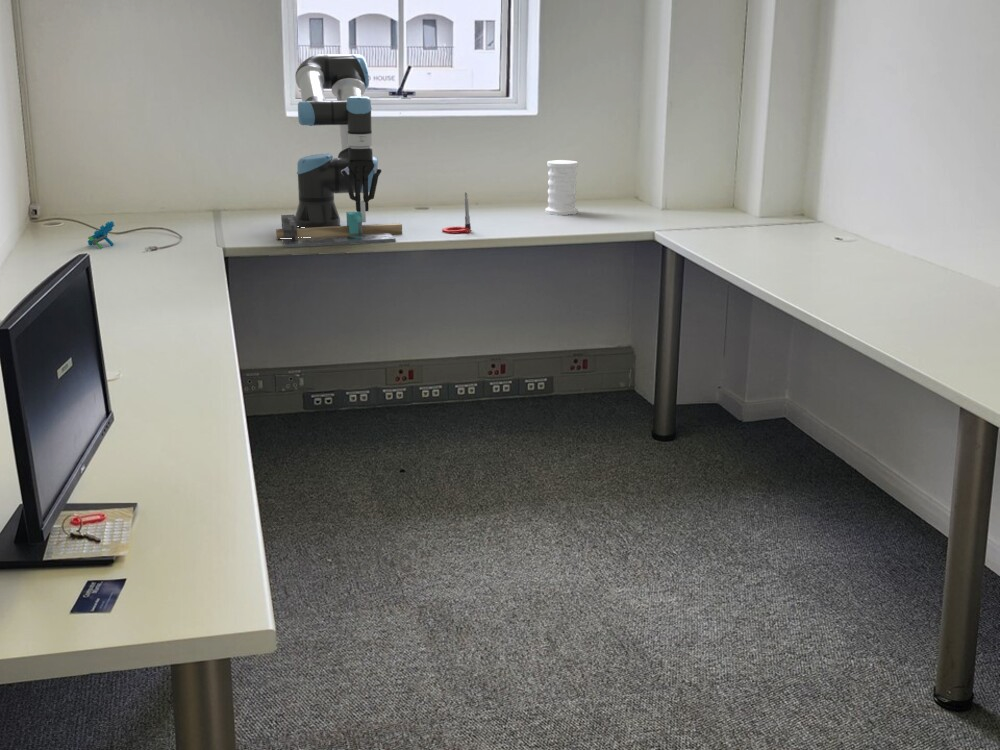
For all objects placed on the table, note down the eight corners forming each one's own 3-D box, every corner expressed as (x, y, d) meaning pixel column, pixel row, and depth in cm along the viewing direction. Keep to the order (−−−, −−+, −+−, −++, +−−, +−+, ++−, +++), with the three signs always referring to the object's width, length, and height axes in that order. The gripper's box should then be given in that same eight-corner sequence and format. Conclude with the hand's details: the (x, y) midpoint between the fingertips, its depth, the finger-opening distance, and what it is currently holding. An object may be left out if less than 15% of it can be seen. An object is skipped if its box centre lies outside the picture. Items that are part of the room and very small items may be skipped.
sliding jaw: (347, 231, 363) (346, 212, 362) (359, 230, 365) (358, 211, 363) (354, 238, 352) (353, 218, 350) (366, 237, 353) (366, 217, 351)
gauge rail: (276, 237, 357) (274, 215, 355) (399, 231, 369) (399, 209, 366) (280, 245, 346) (279, 222, 344) (408, 238, 357) (407, 215, 355)
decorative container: (574, 215, 399) (575, 164, 394) (542, 214, 402) (543, 163, 396) (579, 210, 410) (581, 160, 404) (548, 209, 412) (549, 159, 407)
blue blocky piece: (101, 236, 350) (116, 215, 345) (115, 250, 351) (130, 229, 345) (78, 247, 341) (93, 226, 336) (92, 261, 341) (107, 241, 336)
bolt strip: (282, 242, 351) (282, 238, 350) (389, 236, 360) (389, 233, 360) (285, 247, 342) (285, 244, 342) (395, 241, 352) (395, 238, 352)
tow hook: (441, 234, 366) (469, 234, 366) (438, 195, 362) (467, 194, 362) (443, 230, 374) (471, 229, 374) (441, 191, 370) (469, 190, 370)
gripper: (341, 149, 349) (344, 224, 356) (383, 147, 353) (385, 222, 360) (337, 146, 356) (340, 220, 363) (377, 145, 360) (380, 218, 367)
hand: (362, 221), depth 362 cm, fingers closed
